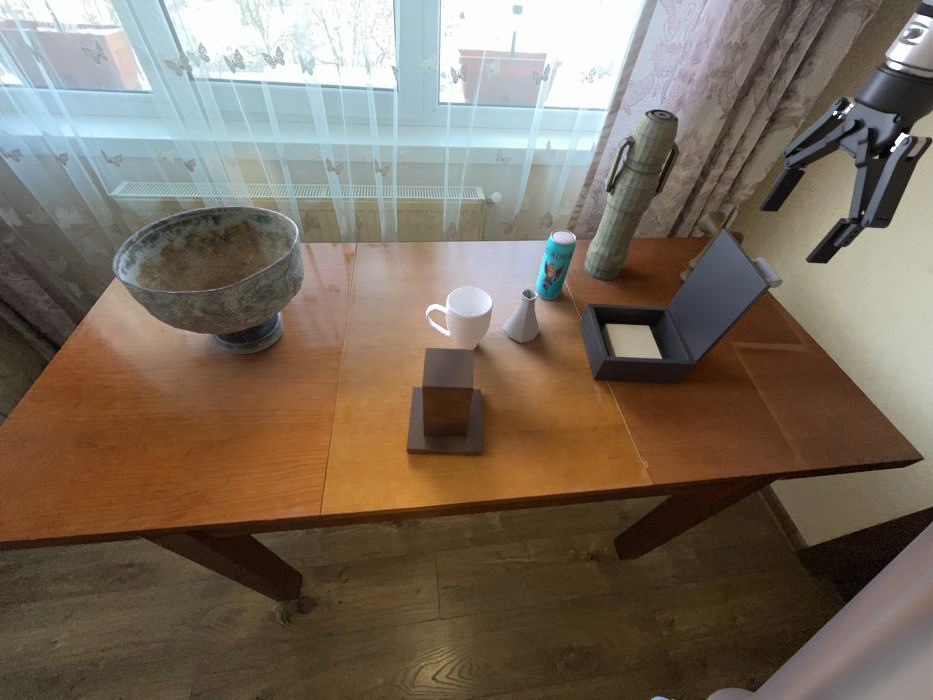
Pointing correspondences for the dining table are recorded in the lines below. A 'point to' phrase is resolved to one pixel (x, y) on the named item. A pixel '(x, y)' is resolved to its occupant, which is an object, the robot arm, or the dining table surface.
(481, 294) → the mug
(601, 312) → the open box
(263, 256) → the decorative bowl
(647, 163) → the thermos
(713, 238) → the kendama
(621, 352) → the beige flat square block
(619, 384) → the dining table surface
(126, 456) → the dining table surface
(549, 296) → the beverage can
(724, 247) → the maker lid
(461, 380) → the stand
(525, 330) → the flask
